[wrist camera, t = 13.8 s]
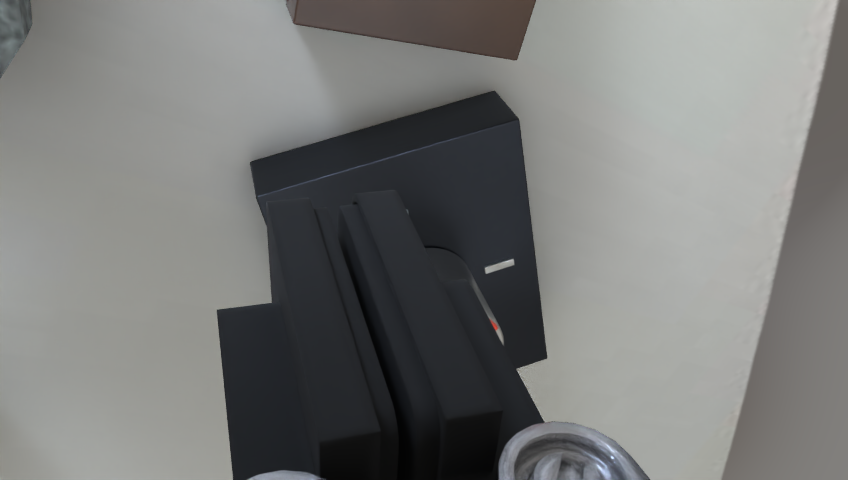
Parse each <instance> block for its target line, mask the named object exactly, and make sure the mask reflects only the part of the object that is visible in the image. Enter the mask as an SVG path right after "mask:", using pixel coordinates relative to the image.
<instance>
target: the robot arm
mask: <svg viewBox="0 0 848 480" xmlns="http://www.w3.org/2000/svg"><path fill="white" fill-rule="evenodd" d="M266 218H267V233H268V249H269V264H270V280H271V295H272V303H268V304H260V305H252V306H244V307H236V308H228V309H220V310H217V317H218V327H219V338H220V348H221V358H222V369H223V379H224V389H225V399H226V410H227V420H228V430H229V440H230V451H231V461H232V471H233V480H650V479H649V477H648V476H647V475H646V474H645V473H644V471H643V470H642V469H641V468H640V467H639V465H638V464H637V463H636V462H635V460H634V459H633V458H632V457H631V456H630V455H629V454H628V453H627V452H626V451H625V450H624V449H623V448H622V447H621V446H620V445H619V444H618V443H617V442H616V441H614V440H613V439H611V438H609V437H607V436H606V435H604V434H602V433H600V432H599V431H597V430H595V429H592V428H589V427H586V426H582V425H579V424H576V423H568V422H555V421H552V422H546V423H544V421H543V419H542V417H541V415H540V413H539V411H538V410H537V408H536V406H535V404H534V402H533V400H532V398H531V396H530V394H529V393H528V391H527V389H526V387H525V385H524V383H523V381H522V379H521V378H520V376H519V374H518V372H517V370H516V368H515V366H514V364H513V363H512V361H511V359H510V357H509V355H508V353H507V351H506V349H505V348H504V346H503V344H502V342H501V340H500V338H499V336H498V334H497V333H496V331H495V329H494V327H493V325H492V323H491V321H490V319H489V317H488V316H487V314H486V312H485V310H484V308H483V306H482V304H481V302H480V301H479V299H478V297H477V295H476V293H475V291H474V289H473V288H472V286H471V285H470V284H469V282H468V281H466V280H464V279H460V280H452V281H444V282H441V280H440V278H439V276H438V274H437V272H436V270H435V268H434V266H433V264H432V262H431V260H430V258H429V256H428V254H427V252H426V249H425V247H424V245H423V243H422V241H421V239H420V237H419V235H418V233H417V231H416V229H415V227H414V225H413V223H412V221H411V218H410V216H409V214H408V212H407V210H406V208H405V206H404V204H403V202H402V200H401V198H400V196H399V194H398V192H397V191H396V190H387V191H376V192H365V193H354V195H353V198H352V205H344V206H339V208H338V237H337V234H336V231H335V228H334V225H333V222H332V219H331V216H330V213H329V211H328V208H327V207H323V208H313V206H312V203H311V200H310V198H300V199H289V200H278V201H267V202H266Z"/></svg>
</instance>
